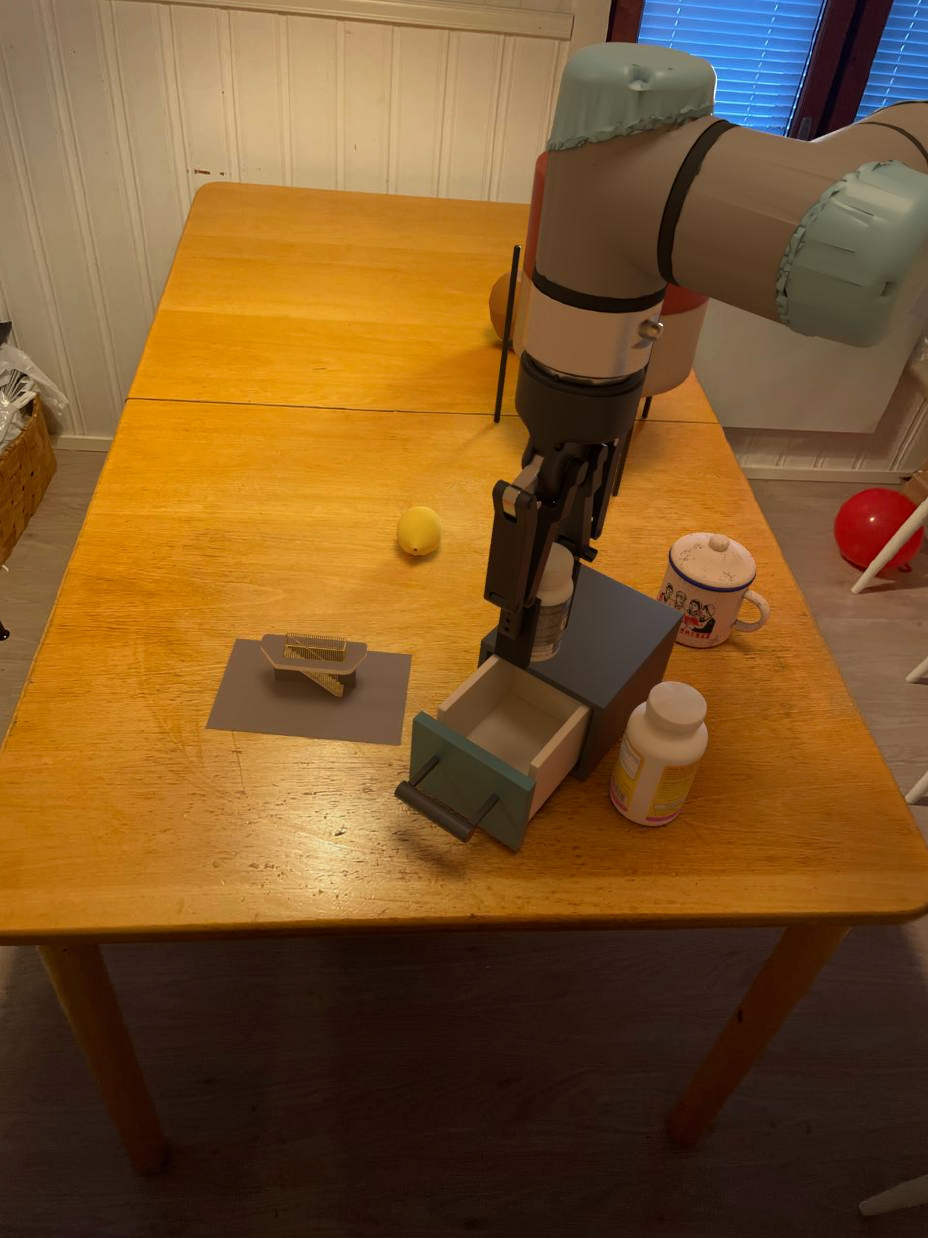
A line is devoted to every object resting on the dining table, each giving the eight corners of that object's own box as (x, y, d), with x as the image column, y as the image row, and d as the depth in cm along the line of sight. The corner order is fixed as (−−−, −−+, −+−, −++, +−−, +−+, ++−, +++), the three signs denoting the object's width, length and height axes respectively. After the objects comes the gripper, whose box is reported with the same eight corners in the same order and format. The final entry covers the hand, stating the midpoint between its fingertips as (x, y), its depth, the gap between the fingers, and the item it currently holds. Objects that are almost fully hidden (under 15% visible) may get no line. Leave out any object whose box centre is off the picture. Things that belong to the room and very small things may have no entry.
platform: (400, 745, 81) (402, 697, 77) (205, 727, 81) (196, 678, 77) (412, 654, 90) (414, 607, 86) (236, 638, 90) (230, 589, 85)
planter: (527, 500, 112) (572, 209, 88) (485, 402, 130) (513, 138, 106) (697, 492, 117) (784, 213, 93) (634, 398, 135) (693, 144, 111)
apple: (472, 331, 148) (478, 262, 140) (539, 322, 152) (549, 255, 145) (507, 366, 139) (515, 295, 132) (577, 355, 144) (589, 286, 136)
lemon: (400, 528, 106) (402, 491, 102) (445, 535, 106) (448, 497, 102) (390, 565, 101) (391, 527, 97) (436, 571, 100) (439, 533, 97)
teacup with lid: (635, 622, 97) (659, 537, 89) (676, 584, 102) (702, 501, 94) (733, 677, 92) (768, 593, 84) (770, 634, 97) (807, 551, 89)
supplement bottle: (691, 789, 80) (731, 694, 72) (665, 842, 76) (705, 747, 67) (624, 757, 83) (655, 660, 74) (595, 806, 78) (624, 709, 69)
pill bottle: (567, 661, 67) (588, 576, 61) (507, 666, 66) (522, 580, 60) (550, 618, 70) (568, 534, 64) (493, 622, 69) (506, 537, 63)
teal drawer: (481, 893, 70) (492, 834, 64) (371, 817, 74) (372, 755, 69) (601, 746, 82) (619, 685, 77) (500, 688, 87) (510, 626, 81)
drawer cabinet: (583, 783, 80) (604, 708, 73) (471, 715, 85) (480, 639, 78) (659, 686, 90) (684, 613, 83) (555, 631, 95) (570, 557, 88)
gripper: (559, 438, 45) (506, 733, 61) (705, 331, 56) (628, 603, 72) (442, 386, 48) (421, 681, 64) (603, 294, 59) (551, 564, 75)
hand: (531, 639), depth 68 cm, fingers closed on pill bottle, 5 cm apart
